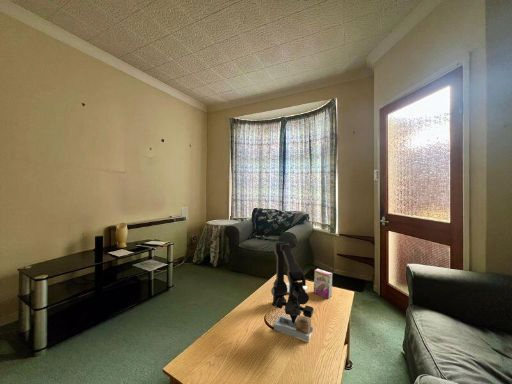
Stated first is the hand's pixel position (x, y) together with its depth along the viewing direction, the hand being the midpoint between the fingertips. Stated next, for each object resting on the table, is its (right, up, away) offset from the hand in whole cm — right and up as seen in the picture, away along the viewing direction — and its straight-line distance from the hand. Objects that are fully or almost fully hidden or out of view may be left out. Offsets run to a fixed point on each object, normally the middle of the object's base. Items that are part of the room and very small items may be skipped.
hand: (293, 323), depth 111 cm
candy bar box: (+26, -3, +37) cm, 46 cm away
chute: (0, -4, 0) cm, 4 cm away
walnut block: (+4, -4, -2) cm, 6 cm away
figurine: (+9, -3, +44) cm, 45 cm away
